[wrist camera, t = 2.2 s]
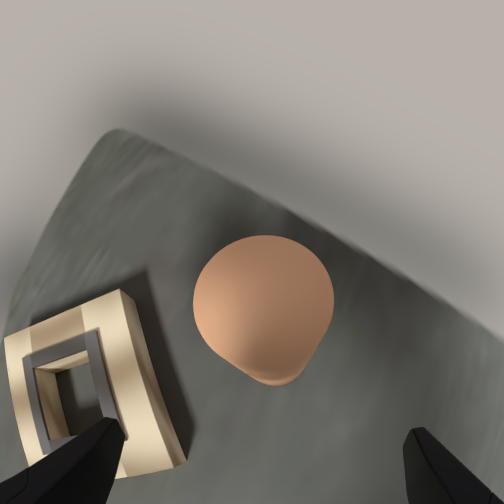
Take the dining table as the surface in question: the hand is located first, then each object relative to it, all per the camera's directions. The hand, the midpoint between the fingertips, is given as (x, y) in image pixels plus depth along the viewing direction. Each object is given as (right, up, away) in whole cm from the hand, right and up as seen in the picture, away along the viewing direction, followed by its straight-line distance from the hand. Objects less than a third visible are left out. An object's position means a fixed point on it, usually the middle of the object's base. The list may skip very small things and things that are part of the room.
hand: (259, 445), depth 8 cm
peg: (+1, -1, +12) cm, 12 cm away
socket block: (-12, -5, +11) cm, 17 cm away
